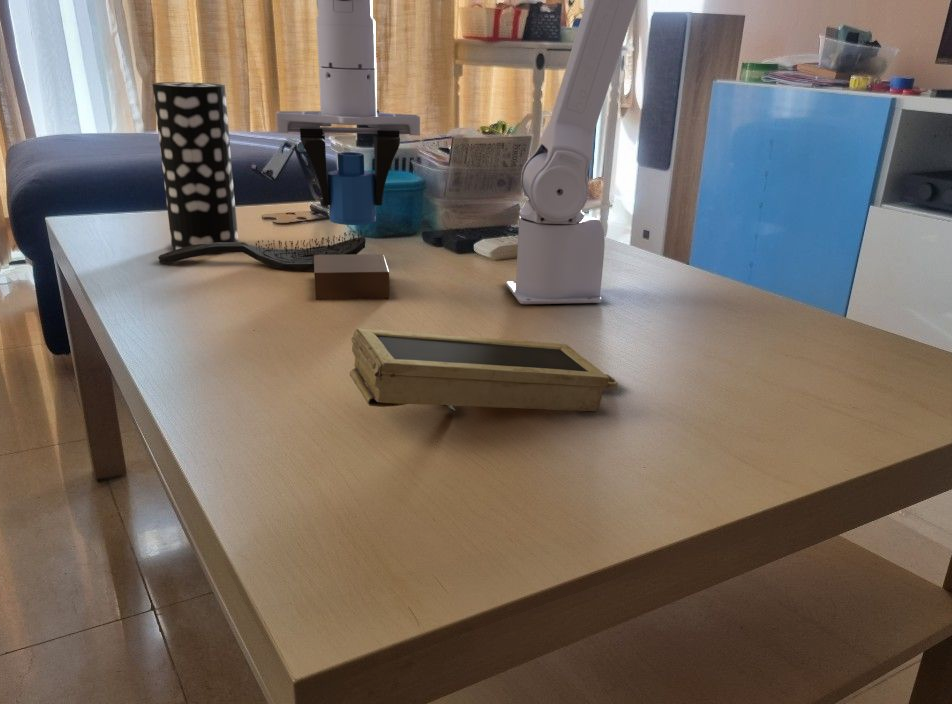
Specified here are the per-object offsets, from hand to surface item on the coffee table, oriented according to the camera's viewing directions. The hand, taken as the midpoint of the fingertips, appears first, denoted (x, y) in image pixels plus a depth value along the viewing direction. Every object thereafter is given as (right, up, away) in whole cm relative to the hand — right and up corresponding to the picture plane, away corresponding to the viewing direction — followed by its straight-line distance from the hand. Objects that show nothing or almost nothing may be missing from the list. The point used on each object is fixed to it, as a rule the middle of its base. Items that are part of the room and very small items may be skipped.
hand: (351, 203), depth 90 cm
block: (-1, -8, +5) cm, 10 cm away
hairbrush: (-13, -4, +14) cm, 20 cm away
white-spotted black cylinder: (-23, -1, +20) cm, 31 cm away
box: (+16, -22, -23) cm, 36 cm away
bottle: (0, -2, +1) cm, 2 cm away
